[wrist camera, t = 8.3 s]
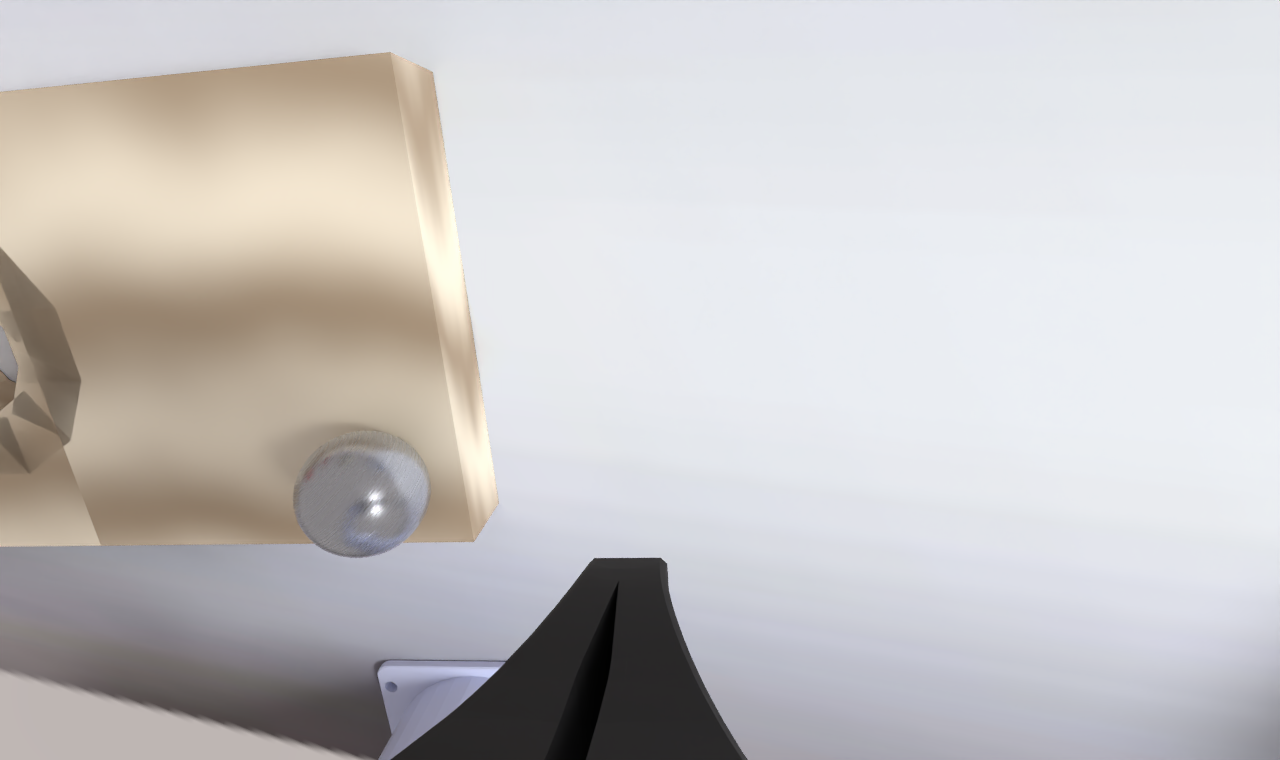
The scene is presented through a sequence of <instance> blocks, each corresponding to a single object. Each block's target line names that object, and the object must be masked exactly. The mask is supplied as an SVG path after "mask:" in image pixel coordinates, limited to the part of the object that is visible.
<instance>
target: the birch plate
mask: <svg viewBox="0 0 1280 760" xmlns="http://www.w3.org/2000/svg"><path fill="white" fill-rule="evenodd" d="M0 325H1V327H2V328H3V329H4V331H5V334H6V336H7V339H8V341H9V344H10V346H11V349H12V352H13V354H14V357H15V359H16V362H17V364H18V373H17V380H16V383H15V382H13V381H11V380H9V379H8V378H7V377H6V376H5V375H4V374H3V373H2V372H1V371H0V547H14V546H113V545H212V544H310V543H313V542H312V541H311V540H310V539H309V538H308V537H307V536H306V535H305V533H304V532H303V531H302V529H301V527H300V526H299V524H298V521H297V519H296V516H295V512H294V507H293V491H294V486H295V482H296V479H297V476H298V474H299V472H300V470H301V468H302V466H303V465H304V463H305V462H306V460H307V459H308V458H309V457H310V456H311V455H312V454H313V453H314V452H315V451H316V450H317V449H318V448H319V447H320V446H322V445H323V444H325V443H326V442H328V441H330V440H332V439H334V438H336V437H338V436H341V435H344V434H346V433H351V432H355V431H379V432H384V433H388V434H391V435H393V436H396V437H398V438H400V439H401V440H403V441H405V442H406V443H408V444H409V445H410V446H412V447H413V448H414V449H415V450H416V451H417V453H418V454H419V455H420V457H421V458H422V459H423V461H424V463H425V465H426V467H427V470H428V473H429V477H430V483H431V496H430V502H429V506H428V509H427V512H426V514H425V516H424V518H423V520H422V522H421V523H420V525H419V526H418V528H417V529H416V530H415V531H414V532H413V534H412V535H411V536H410V537H409V538H408V539H406V540H405V541H404V542H402V543H409V542H474V541H475V540H476V538H477V536H478V535H479V533H480V532H481V530H482V529H483V527H484V525H485V524H486V522H487V521H488V519H489V518H490V516H491V515H492V513H493V511H494V510H495V508H496V507H497V505H498V504H499V501H498V495H497V488H496V482H495V475H494V469H493V462H492V456H491V449H490V443H489V436H488V430H487V423H486V417H485V410H484V404H483V397H482V390H481V384H480V377H479V371H478V364H477V358H476V351H475V345H474V338H473V332H472V325H471V319H470V312H469V306H468V299H467V293H466V286H465V280H464V273H463V267H462V260H461V254H460V247H459V241H458V234H457V228H456V221H455V215H454V208H453V202H452V195H451V189H450V182H449V175H448V169H447V162H446V156H445V149H444V143H443V136H442V130H441V123H440V117H439V110H438V104H437V97H436V91H435V84H434V78H433V72H431V71H429V70H427V69H425V68H423V67H421V66H419V65H416V64H414V63H412V62H410V61H408V60H406V59H404V58H402V57H399V56H397V55H395V54H393V53H391V52H388V53H378V54H368V55H358V56H349V57H339V58H329V59H319V60H309V61H299V62H290V63H280V64H270V65H260V66H250V67H241V68H231V69H221V70H211V71H201V72H192V73H182V74H172V75H162V76H152V77H143V78H133V79H123V80H113V81H103V82H94V83H84V84H74V85H64V86H54V87H44V88H35V89H25V90H15V91H5V92H0Z"/></svg>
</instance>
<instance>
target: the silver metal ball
mask: <svg viewBox="0 0 1280 760" xmlns="http://www.w3.org/2000/svg"><path fill="white" fill-rule="evenodd" d="M430 496H431V483H430V477H429V473H428V470H427V467H426V465H425V463H424V461H423V459H422V458H421V457H420V455H419V454H418V453H417V451H416V450H415V449H414V448H413V447H412V446H410V445H409V444H408V443H406V442H405V441H403V440H401V439H400V438H398V437H396V436H393V435H391V434H388V433H384V432H379V431H355V432H351V433H346V434H344V435H341V436H338V437H336V438H334V439H332V440H330V441H328V442H326V443H325V444H323V445H322V446H320V447H319V448H318V449H317V450H316V451H315V452H314V453H313V454H312V455H311V456H310V457H309V458H308V459H307V460H306V462H305V463H304V465H303V466H302V468H301V470H300V472H299V474H298V476H297V479H296V482H295V486H294V491H293V507H294V512H295V516H296V519H297V521H298V524H299V526H300V527H301V529H302V531H303V532H304V533H305V535H306V536H307V537H308V538H309V539H310V540H311V541H312V542H313V543H314V544H316V545H317V546H318V547H320V548H321V549H323V550H325V551H327V552H329V553H332V554H335V555H338V556H344V557H350V558H363V557H370V556H375V555H379V554H382V553H384V552H387V551H389V550H391V549H393V548H395V547H397V546H398V545H400V544H401V543H402V542H404V541H405V540H406V539H408V538H409V537H410V536H411V535H412V534H413V532H414V531H415V530H416V529H417V528H418V526H419V525H420V523H421V522H422V520H423V518H424V516H425V514H426V512H427V509H428V506H429V502H430Z"/></svg>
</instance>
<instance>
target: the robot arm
mask: <svg viewBox="0 0 1280 760" xmlns="http://www.w3.org/2000/svg"><path fill="white" fill-rule="evenodd" d="M378 680H379V684H380V688H381V692H382V696H383V700H384V704H385V708H386V712H387V717H388V721H389V725H390V729H391V733H392V736H391V737H390V739H389V741H388V743H387V745H386V746H385V748H384V750H383V752H382V753H381V755H380V757H379V759H378V760H747V758H746V757H745V755H744V754H743V752H742V751H741V749H740V748H739V746H738V744H737V743H736V741H735V739H734V738H733V736H732V734H731V733H730V731H729V729H728V728H727V726H726V724H725V723H724V721H723V719H722V717H721V716H720V714H719V712H718V710H717V708H716V707H715V705H714V703H713V701H712V699H711V697H710V696H709V694H708V692H707V690H706V688H705V686H704V684H703V682H702V680H701V677H700V675H699V673H698V671H697V669H696V667H695V664H694V662H693V660H692V658H691V655H690V653H689V651H688V648H687V646H686V643H685V641H684V638H683V635H682V632H681V630H680V627H679V624H678V621H677V618H676V616H675V612H674V609H673V606H672V602H671V598H670V594H669V588H668V572H667V563H666V562H665V561H663V560H662V559H661V558H594V559H593V560H592V561H591V562H590V563H589V564H588V566H587V567H586V568H585V570H584V571H583V572H582V574H581V575H580V576H579V578H578V579H577V580H576V581H575V583H574V584H573V585H572V587H571V588H570V589H569V590H568V592H567V593H566V594H565V595H564V597H563V598H562V599H561V600H560V602H559V603H558V604H557V605H556V607H555V608H554V609H553V610H552V611H551V612H550V614H549V615H548V616H547V617H546V618H545V619H544V621H543V622H542V623H541V624H540V625H539V627H538V628H537V629H536V630H535V631H534V632H533V633H532V635H531V636H530V637H529V638H528V639H527V640H526V641H525V642H524V643H523V644H522V645H521V646H520V647H519V648H518V650H517V651H516V652H515V653H514V654H513V655H512V656H511V657H510V658H509V659H508V660H507V661H506V662H495V661H411V660H389V661H386V662H384V663H383V664H382V665H381V667H380V668H379V670H378ZM391 682H393V683H395V684H396V685H395V684H393V683H391Z"/></svg>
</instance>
